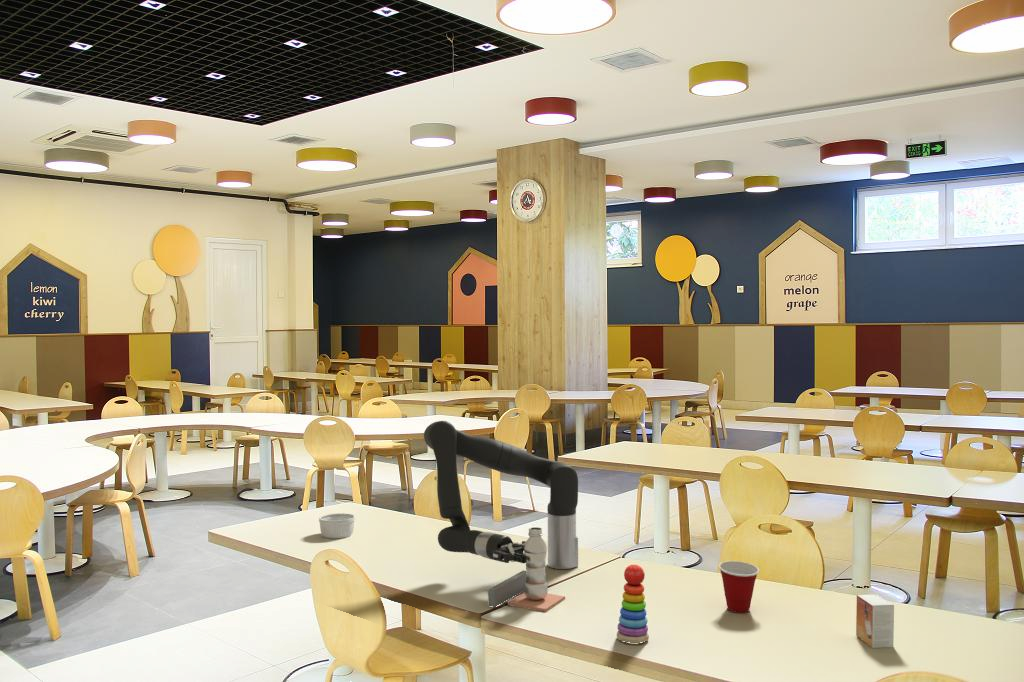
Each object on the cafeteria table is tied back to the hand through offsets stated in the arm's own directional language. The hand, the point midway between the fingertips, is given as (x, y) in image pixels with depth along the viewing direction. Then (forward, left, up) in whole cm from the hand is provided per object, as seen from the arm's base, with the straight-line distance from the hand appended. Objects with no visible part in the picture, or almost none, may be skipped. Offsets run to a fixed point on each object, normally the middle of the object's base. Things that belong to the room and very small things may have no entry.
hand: (535, 556), depth 238 cm
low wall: (+6, -6, -13) cm, 15 cm away
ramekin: (+53, -91, -13) cm, 106 cm away
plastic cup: (-52, +20, -13) cm, 57 cm away
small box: (-73, +49, -13) cm, 89 cm away
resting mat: (0, 0, -13) cm, 13 cm away
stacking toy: (-16, +33, -13) cm, 39 cm away
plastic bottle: (0, 0, -12) cm, 12 cm away
